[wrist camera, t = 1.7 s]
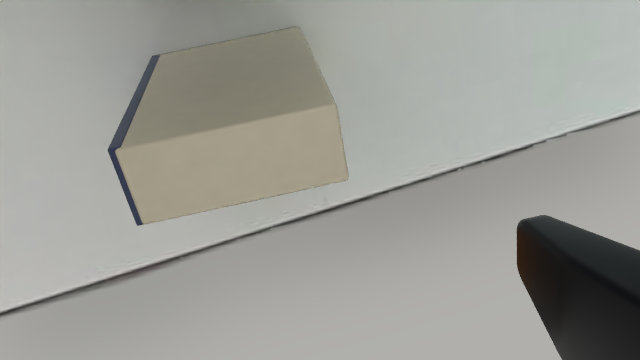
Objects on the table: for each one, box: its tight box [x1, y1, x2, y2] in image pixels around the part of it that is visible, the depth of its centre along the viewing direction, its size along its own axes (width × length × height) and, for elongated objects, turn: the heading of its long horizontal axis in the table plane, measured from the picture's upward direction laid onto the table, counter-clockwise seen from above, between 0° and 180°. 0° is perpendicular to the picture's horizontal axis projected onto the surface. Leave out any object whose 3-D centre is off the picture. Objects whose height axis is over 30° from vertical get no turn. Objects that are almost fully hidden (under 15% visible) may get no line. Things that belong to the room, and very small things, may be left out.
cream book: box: [108, 27, 349, 225], centre depth 16 cm, size 5×2×8 cm, turn 101°
